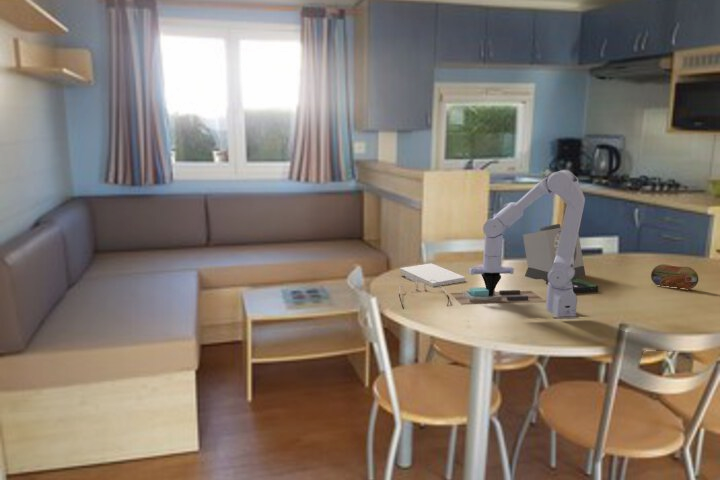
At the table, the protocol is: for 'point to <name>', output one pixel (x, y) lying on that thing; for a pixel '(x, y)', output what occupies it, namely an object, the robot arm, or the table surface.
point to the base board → (531, 298)
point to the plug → (479, 291)
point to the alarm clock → (548, 252)
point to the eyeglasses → (424, 289)
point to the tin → (674, 276)
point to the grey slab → (480, 297)
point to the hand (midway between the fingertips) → (489, 294)
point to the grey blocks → (510, 292)
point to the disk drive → (582, 286)
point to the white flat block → (431, 275)
